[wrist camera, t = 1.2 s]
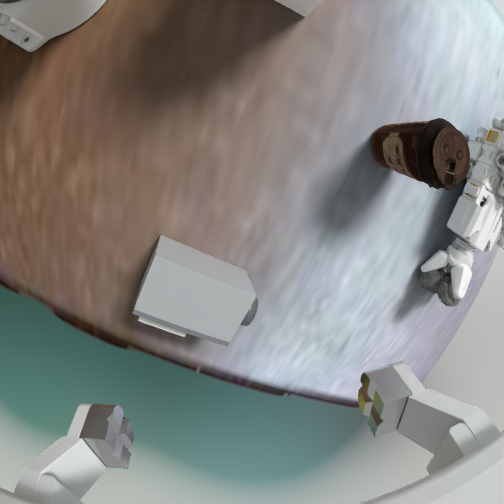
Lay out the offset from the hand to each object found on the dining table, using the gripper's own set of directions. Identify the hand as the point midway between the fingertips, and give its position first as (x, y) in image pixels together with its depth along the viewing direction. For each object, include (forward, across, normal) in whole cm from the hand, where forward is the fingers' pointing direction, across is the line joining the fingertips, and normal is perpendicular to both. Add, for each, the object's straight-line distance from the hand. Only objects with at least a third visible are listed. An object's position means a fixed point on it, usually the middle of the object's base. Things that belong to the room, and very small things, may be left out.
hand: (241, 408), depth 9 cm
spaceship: (+35, -43, +4) cm, 55 cm away
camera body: (+30, +5, +8) cm, 31 cm away
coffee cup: (+32, -24, -6) cm, 40 cm away
